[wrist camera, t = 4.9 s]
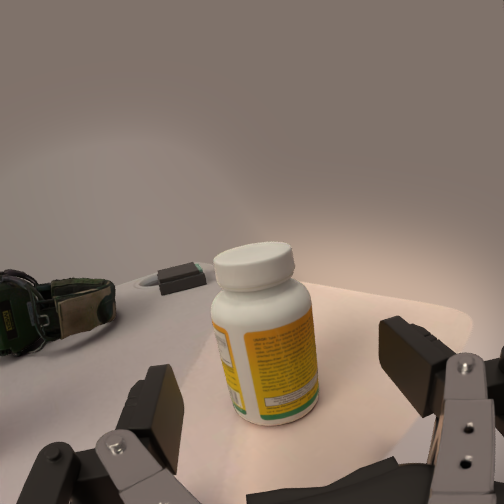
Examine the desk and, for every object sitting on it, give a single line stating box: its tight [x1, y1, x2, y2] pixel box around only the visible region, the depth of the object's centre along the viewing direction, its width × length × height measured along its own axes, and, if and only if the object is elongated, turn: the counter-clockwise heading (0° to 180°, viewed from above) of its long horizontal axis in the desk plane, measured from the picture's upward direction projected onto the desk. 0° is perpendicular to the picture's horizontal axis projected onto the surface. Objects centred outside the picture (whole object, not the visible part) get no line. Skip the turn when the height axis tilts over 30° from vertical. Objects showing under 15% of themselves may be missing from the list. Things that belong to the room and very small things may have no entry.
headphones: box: [0, 269, 116, 356], centre depth 32 cm, size 13×13×20 cm
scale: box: [157, 262, 207, 295], centre depth 46 cm, size 7×7×2 cm
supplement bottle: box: [211, 242, 319, 426], centre depth 17 cm, size 5×5×10 cm
